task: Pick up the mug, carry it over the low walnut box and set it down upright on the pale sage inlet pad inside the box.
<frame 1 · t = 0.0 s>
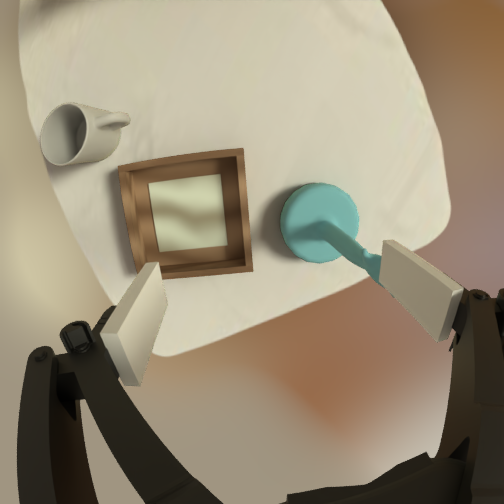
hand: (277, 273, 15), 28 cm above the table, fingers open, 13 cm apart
teal branch stand: (316, 219, 44), on the table
mug: (108, 132, 36), on the table
walnut box: (188, 212, 42), on the table
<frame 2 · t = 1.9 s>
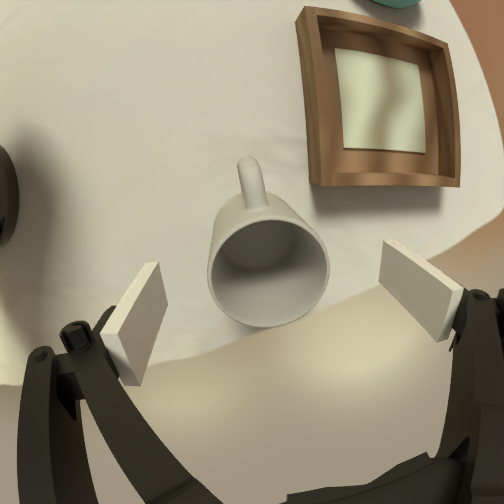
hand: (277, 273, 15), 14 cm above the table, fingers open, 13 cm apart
mug: (252, 214, 28), on the table
walnut box: (380, 101, 24), on the table
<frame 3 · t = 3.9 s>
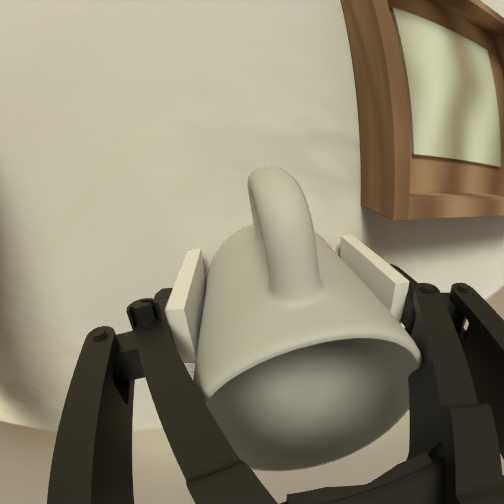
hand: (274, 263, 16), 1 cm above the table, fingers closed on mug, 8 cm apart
mug: (269, 257, 17), on the table, touching gripper
walnut box: (451, 91, 14), on the table
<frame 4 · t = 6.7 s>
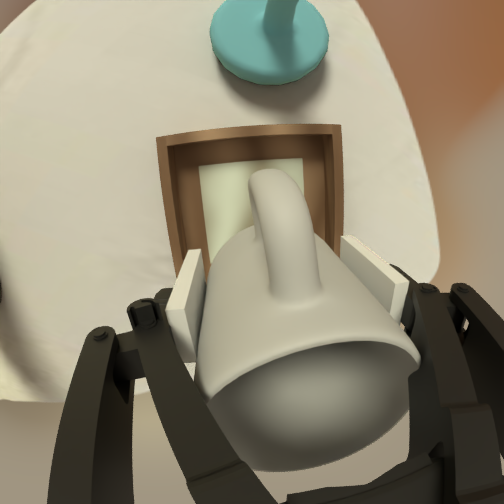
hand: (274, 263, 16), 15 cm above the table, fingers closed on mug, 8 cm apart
teal branch stand: (266, 41, 24), on the table
mug: (269, 258, 18), point 14 cm above the table, touching gripper
walnut box: (254, 209, 31), on the table
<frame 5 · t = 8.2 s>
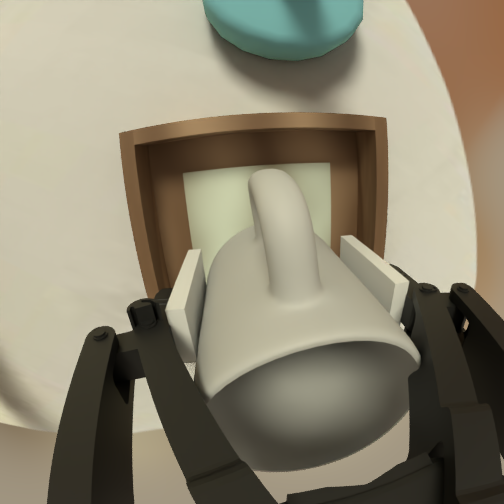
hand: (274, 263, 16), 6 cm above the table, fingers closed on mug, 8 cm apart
teal branch stand: (279, 6, 16), on the table
mug: (269, 258, 17), point 5 cm above the table, touching gripper
walnut box: (261, 233, 22), on the table
when the fingers open (4 cm above the table, at t = 9.5 s): mug drops 2 cm, resting on walnut box.
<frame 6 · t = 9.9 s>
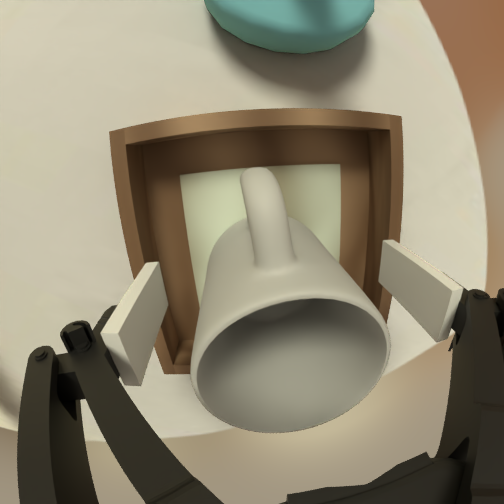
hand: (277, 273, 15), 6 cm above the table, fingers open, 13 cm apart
mug: (262, 246, 20), point 1 cm above the table, touching walnut box
walnut box: (265, 240, 21), on the table
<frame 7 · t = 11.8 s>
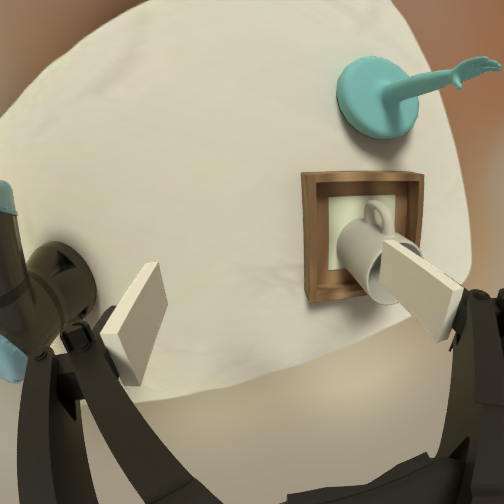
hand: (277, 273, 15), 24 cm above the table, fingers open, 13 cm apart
teal branch stand: (372, 99, 33), on the table
mug: (360, 232, 39), point 1 cm above the table, touching walnut box
walnut box: (360, 230, 39), on the table
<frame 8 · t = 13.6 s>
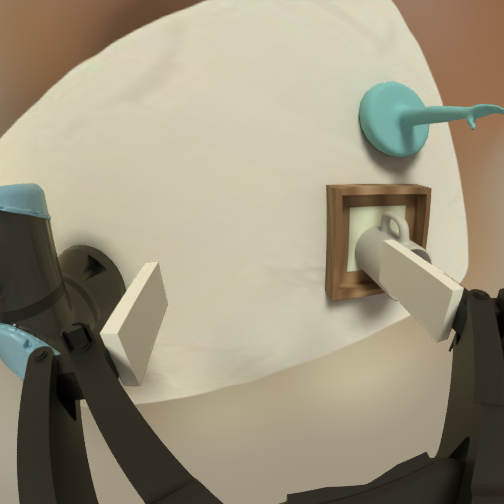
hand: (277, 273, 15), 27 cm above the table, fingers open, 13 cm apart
teal branch stand: (388, 119, 37), on the table
mug: (375, 238, 43), point 1 cm above the table, touching walnut box
walnut box: (374, 236, 44), on the table
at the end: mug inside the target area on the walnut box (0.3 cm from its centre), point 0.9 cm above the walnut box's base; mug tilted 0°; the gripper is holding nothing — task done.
